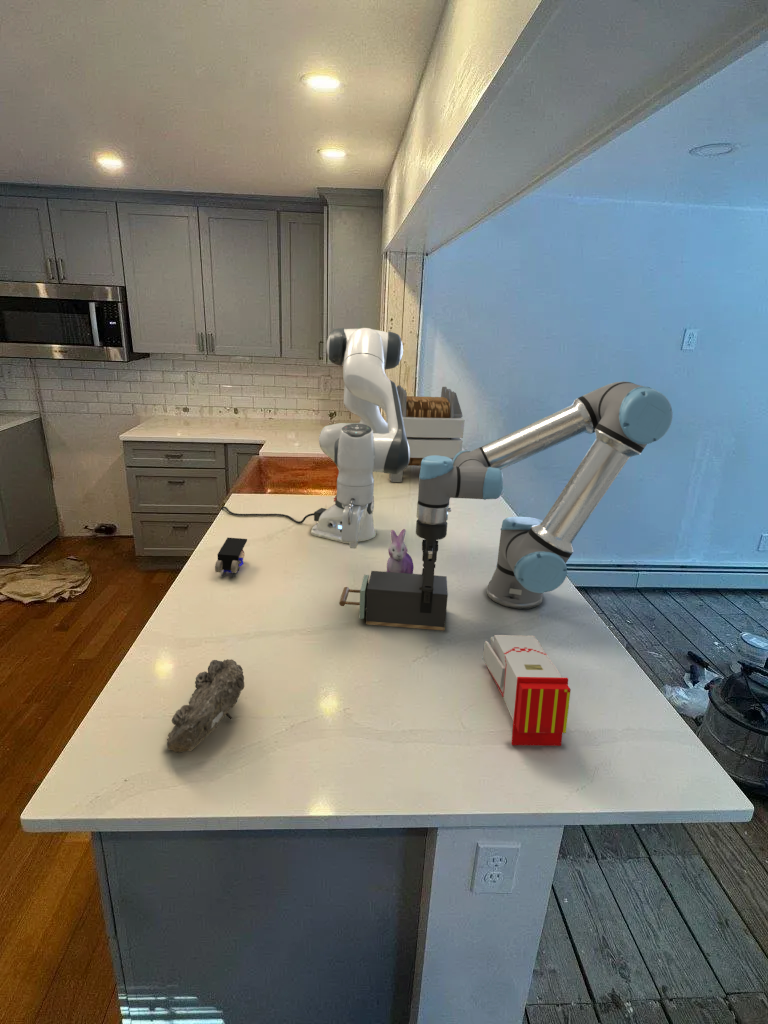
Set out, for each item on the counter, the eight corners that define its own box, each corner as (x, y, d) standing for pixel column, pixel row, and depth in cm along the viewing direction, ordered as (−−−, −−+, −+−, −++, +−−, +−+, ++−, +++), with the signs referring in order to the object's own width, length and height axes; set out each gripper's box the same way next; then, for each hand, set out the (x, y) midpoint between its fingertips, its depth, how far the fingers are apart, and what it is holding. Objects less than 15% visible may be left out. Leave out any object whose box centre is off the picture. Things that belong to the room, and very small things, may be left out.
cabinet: (365, 624, 142) (367, 588, 139) (370, 604, 152) (371, 570, 148) (444, 630, 141) (447, 594, 138) (443, 609, 151) (446, 576, 147)
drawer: (338, 617, 143) (338, 589, 140) (343, 600, 151) (344, 573, 149) (432, 624, 141) (434, 596, 139) (432, 606, 150) (434, 579, 147)
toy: (531, 618, 129) (580, 685, 100) (526, 672, 132) (572, 753, 102) (478, 617, 129) (511, 684, 99) (475, 671, 131) (505, 752, 102)
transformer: (382, 463, 289) (386, 382, 275) (445, 464, 293) (451, 384, 279) (390, 482, 257) (394, 392, 243) (460, 483, 261) (468, 394, 247)
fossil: (192, 660, 117) (244, 628, 112) (224, 691, 120) (276, 661, 115) (142, 746, 98) (202, 712, 93) (182, 779, 101) (242, 748, 96)
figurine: (393, 588, 161) (395, 539, 156) (376, 573, 169) (378, 526, 164) (421, 582, 165) (425, 534, 160) (404, 568, 173) (407, 522, 168)
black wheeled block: (238, 584, 162) (249, 557, 175) (236, 562, 158) (247, 536, 172) (215, 584, 161) (227, 556, 175) (212, 561, 158) (225, 535, 171)
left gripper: (363, 507, 126) (361, 564, 131) (372, 482, 145) (370, 532, 150) (335, 505, 126) (334, 562, 131) (347, 480, 146) (346, 530, 150)
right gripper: (449, 539, 126) (441, 626, 133) (446, 505, 147) (439, 582, 155) (415, 536, 126) (409, 623, 134) (417, 503, 148) (412, 580, 155)
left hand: (353, 546), depth 141 cm, fingers closed
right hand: (425, 601), depth 144 cm, fingers closed on cabinet, 10 cm apart
